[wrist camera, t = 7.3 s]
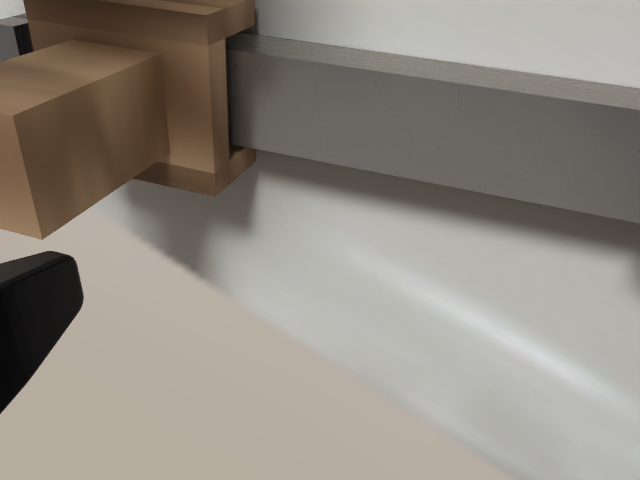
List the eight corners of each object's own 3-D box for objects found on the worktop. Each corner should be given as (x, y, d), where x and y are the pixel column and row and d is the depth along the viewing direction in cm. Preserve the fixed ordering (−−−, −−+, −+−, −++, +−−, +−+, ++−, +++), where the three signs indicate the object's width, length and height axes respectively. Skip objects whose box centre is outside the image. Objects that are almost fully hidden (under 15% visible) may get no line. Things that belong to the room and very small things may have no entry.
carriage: (256, 160, 21) (104, 296, 14) (111, 131, 22) (-90, 241, 15) (254, -3, 18) (62, 67, 11) (88, -23, 19) (-172, 26, 12)
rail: (706, 205, 17) (731, 259, 14) (69, 89, 22) (9, 113, 20) (753, 104, 15) (790, 146, 13) (54, 6, 21) (-13, 22, 18)
